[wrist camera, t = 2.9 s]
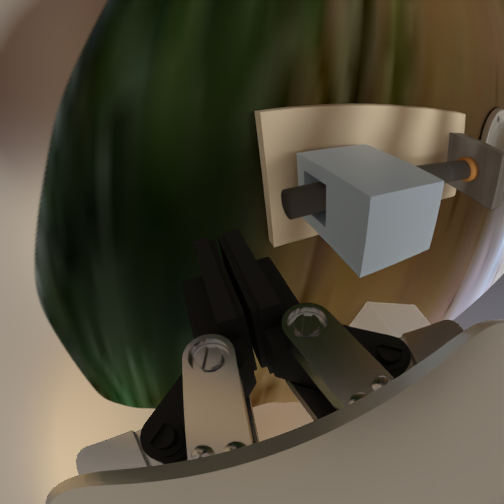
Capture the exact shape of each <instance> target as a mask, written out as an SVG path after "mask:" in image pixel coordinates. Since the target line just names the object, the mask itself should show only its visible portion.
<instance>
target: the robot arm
mask: <svg viewBox="0 0 504 504" xmlns="http://www.w3.org/2000/svg"><path fill="white" fill-rule="evenodd" d="M480 141H483V142H485V143H487V144H489V145H491V146H494V147H496V148H498V149H500V150H502V151H504V109H501V108H496V109H494V110H493V111H492V112H491V113H490V115H489V117H488V119H487V121H486V123H485V126H484V129H483V132H482V136H481V140H480ZM193 243H194V247H195V251H196V254H197V258H198V262H199V265H200V269H201V272H202V276H201V277H198V278H195V279H191V280H188V281H184V282H183V288H184V293H185V298H186V303H187V308H188V313H189V318H190V323H191V327H192V332H193V336H194V340H192V341H191V342H190V343H189V344H188V345H187V346H186V348H185V350H184V352H183V357H182V372H183V373H182V374H181V376H180V377H179V379H178V380H177V381H176V383H175V384H174V385H173V387H172V388H171V389H170V391H169V392H168V393H167V395H166V396H165V397H164V399H163V400H162V401H161V403H160V404H159V405H158V407H157V408H156V409H155V411H154V412H153V413H152V415H151V416H150V417H149V419H148V420H147V422H146V423H145V424H144V426H143V428H142V429H141V430H139V431H136V432H134V431H129V432H126V433H124V434H121V435H119V436H116V437H113V438H110V439H108V440H105V441H102V442H99V443H96V444H93V445H90V446H87V447H85V448H83V449H82V450H81V451H80V452H79V453H78V455H77V460H76V464H77V470H78V473H79V475H78V476H75V477H72V478H70V479H67V480H65V481H63V482H61V483H60V484H58V485H57V486H56V487H54V488H53V489H52V490H51V492H50V493H49V494H48V496H47V499H46V504H504V319H495V320H489V321H484V322H481V323H478V324H476V325H474V326H472V327H470V328H468V329H466V330H465V331H463V329H462V328H461V327H460V326H459V324H457V323H456V322H454V321H451V320H443V321H440V322H437V323H434V324H431V325H428V326H425V327H422V328H419V329H416V330H413V331H410V332H407V333H404V334H402V336H401V337H399V338H397V337H395V336H391V335H387V334H382V333H377V332H373V331H368V330H363V329H359V328H355V327H350V326H346V325H342V324H341V323H340V322H339V321H338V320H337V319H336V318H335V317H334V316H333V315H332V314H331V313H330V312H329V311H328V310H326V309H325V308H324V307H322V306H320V305H317V304H314V303H300V304H299V302H298V300H297V299H296V297H295V296H294V294H293V293H292V291H291V290H290V288H289V287H288V285H287V284H286V282H285V281H284V279H283V277H282V276H281V274H280V273H279V271H278V270H277V268H276V267H275V265H274V264H273V262H272V261H271V259H270V258H269V257H265V258H262V259H258V260H256V259H255V258H254V256H253V254H252V253H251V251H250V249H249V247H248V246H247V244H246V242H245V240H244V239H243V237H242V235H241V234H240V232H239V230H238V229H236V230H232V231H229V232H225V233H223V237H222V238H219V244H220V248H221V253H222V257H223V260H222V258H221V255H220V253H219V250H218V248H217V245H216V243H215V240H211V241H209V240H208V238H204V239H200V240H197V241H193ZM223 261H224V263H223ZM252 347H253V349H254V352H255V354H256V356H257V359H258V361H259V363H260V366H261V367H262V368H263V367H266V366H267V368H268V370H269V372H270V374H271V373H274V375H275V376H276V377H279V378H282V379H285V381H286V383H287V385H288V386H289V387H290V389H291V390H292V392H293V393H294V394H295V396H296V397H297V398H298V400H299V401H300V403H301V404H302V405H303V407H304V408H305V409H306V411H307V412H308V413H309V415H310V416H311V417H312V419H313V420H314V422H311V423H309V424H306V425H304V426H302V427H299V428H297V429H294V430H292V431H289V432H286V433H284V434H281V435H278V436H275V437H273V438H270V439H267V440H264V441H261V442H259V438H258V433H257V428H256V423H255V418H254V414H253V409H252V404H251V398H250V393H251V392H252V390H253V388H254V386H255V385H256V379H255V375H254V370H257V366H256V362H255V358H254V353H253V349H252Z"/></svg>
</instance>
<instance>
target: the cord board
mask: <svg viewBox="0 0 504 504" xmlns="http://www.w3.org/2000/svg"><path fill="white" fill-rule="evenodd" d="M254 112H255V120H256V128H257V136H258V144H259V153H260V161H261V170H262V179H263V188H264V197H265V206H266V215H267V225H268V234H269V241H270V242H271V243H272V245H273V246H274V247H277V246H281V245H284V244H288V243H291V242H295V241H298V240H302V239H305V238H309V237H312V236H316V235H319V234H318V233H317V232H316V231H315V230H314V229H313V228H312V227H311V226H310V225H309V224H308V223H307V222H306V221H305V220H304V219H303V218H302V217H303V216H307V215H311V214H315V213H319V212H323V211H326V185H325V184H324V183H322V182H316V183H311V184H306V185H301V186H298V170H297V154H296V153H300V152H306V151H313V150H320V149H328V148H336V147H344V146H353V145H363V144H366V145H369V146H371V147H374V148H376V149H379V150H381V151H383V152H386V153H388V154H390V155H393V156H395V157H397V158H399V159H402V160H404V161H406V162H408V163H410V164H412V165H414V166H416V167H418V168H420V169H422V170H424V171H426V172H428V173H430V174H432V175H434V176H436V177H438V178H440V179H442V180H444V187H443V192H442V197H441V200H442V199H446V198H449V197H453V196H455V193H456V189H457V190H459V191H461V192H463V193H464V194H466V195H468V196H469V197H471V198H472V199H474V200H476V201H477V202H479V203H480V204H482V205H483V206H485V207H486V208H488V209H489V210H493V209H495V208H497V207H499V206H500V205H501V201H502V197H503V193H504V151H502V150H500V149H498V148H496V147H494V146H491V145H489V144H487V143H485V142H483V141H480V140H478V139H476V138H473V137H471V136H468V135H466V134H464V130H465V115H466V114H463V113H460V112H457V111H450V110H444V109H436V108H428V107H418V106H406V105H391V104H321V105H305V106H293V107H282V108H273V109H265V110H257V111H254Z"/></svg>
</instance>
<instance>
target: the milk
mask: <svg viewBox="0 0 504 504" xmlns="http://www.w3.org/2000/svg"><path fill="white" fill-rule="evenodd" d="M428 325H431V324H430V323H429V321H428V320H427V319H426V318H425V316H424V315H423V314H422V313H421V312H420V310H419V309H418V308H417V307H416V305H412V304H395V303H380V302H366V303H365V305H364V306H363V307H362V309H361V310H360V312H359V313H358V314H357V316H356V317H355V318H354V320H353V321H352V322H351V324H350V325H349V326H350V327H355V328H359V329H363V330H368V331H373V332H377V333H382V334H387V335H391V336H395V337H397V338H399V337H401V336H402V334H404V333H407V332H410V331H413V330H416V329H419V328H422V327H425V326H428Z"/></svg>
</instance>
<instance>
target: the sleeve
mask: <svg viewBox="0 0 504 504" xmlns="http://www.w3.org/2000/svg"><path fill="white" fill-rule="evenodd" d="M296 154H297V170H298V186H301V185H306V184H311V183H316V182H322V183H324V184H325V185H326V211H323V212H319V213H315V214H311V215H307V216H303V217H302V218H303V219H304V220H305V221H306V222H307V223H308V224H309V225H310V226H311V227H312V228H313V229H314V230H315V231H316V232H317V233H318V234H319V235H320V236H321V237H322V238H323V239H324V240H325V241H326V242H327V243H328V244H329V245H330V246H331V247H332V248H333V249H334V251H335V252H336V253H337V254H338V255H339V256H340V257H341V258H342V259H343V260H344V261H345V262H346V263H347V264H348V265H349V267H350V268H351V269H352V270H353V271H354V272H355V273H356V274H357V275H358V276H359V278H361V277H363V276H366V275H369V274H371V273H374V272H376V271H379V270H381V269H383V268H386V267H388V266H391V265H393V264H396V263H398V262H400V261H403V260H405V259H407V258H410V257H412V256H414V255H417V254H419V253H421V252H423V251H426V250H428V249H429V247H430V244H431V240H432V236H433V233H434V229H435V225H436V220H437V216H438V212H439V207H440V202H441V197H442V192H443V187H444V180H442V179H440V178H438V177H436V176H434V175H432V174H430V173H428V172H426V171H424V170H422V169H420V168H418V167H416V166H414V165H412V164H410V163H408V162H406V161H404V160H402V159H399V158H397V157H395V156H393V155H390V154H388V153H386V152H383V151H381V150H379V149H376V148H374V147H371V146H369V145H366V144H363V145H353V146H344V147H336V148H328V149H320V150H313V151H306V152H300V153H296Z"/></svg>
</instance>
